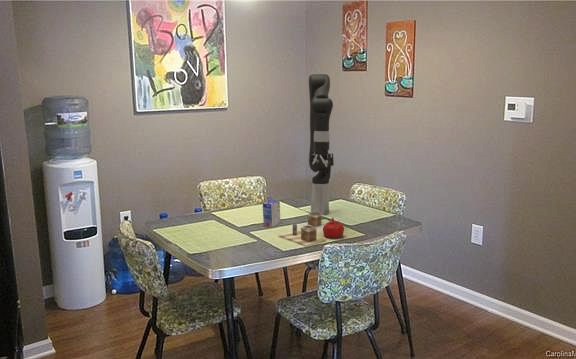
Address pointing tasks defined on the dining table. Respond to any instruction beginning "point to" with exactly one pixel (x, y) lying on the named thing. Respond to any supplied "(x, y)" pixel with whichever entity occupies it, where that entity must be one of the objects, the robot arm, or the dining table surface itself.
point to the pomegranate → (333, 229)
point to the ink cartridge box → (271, 212)
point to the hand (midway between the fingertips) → (321, 173)
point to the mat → (319, 228)
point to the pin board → (299, 237)
